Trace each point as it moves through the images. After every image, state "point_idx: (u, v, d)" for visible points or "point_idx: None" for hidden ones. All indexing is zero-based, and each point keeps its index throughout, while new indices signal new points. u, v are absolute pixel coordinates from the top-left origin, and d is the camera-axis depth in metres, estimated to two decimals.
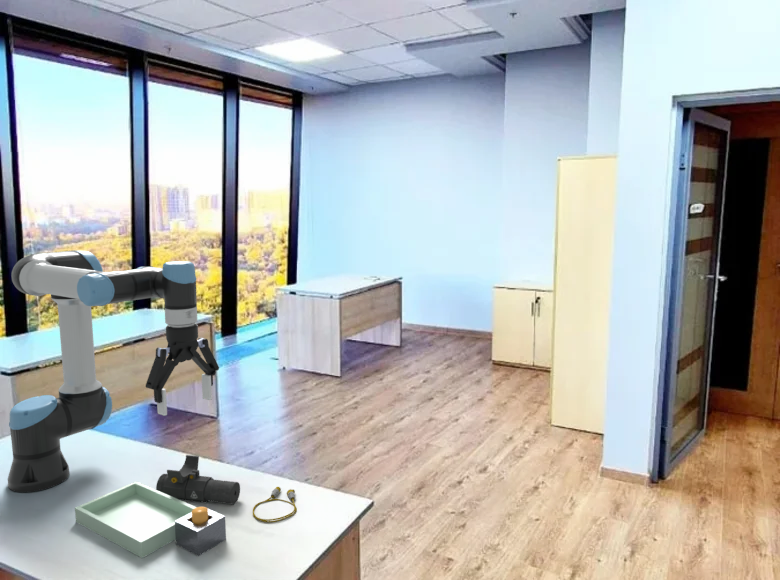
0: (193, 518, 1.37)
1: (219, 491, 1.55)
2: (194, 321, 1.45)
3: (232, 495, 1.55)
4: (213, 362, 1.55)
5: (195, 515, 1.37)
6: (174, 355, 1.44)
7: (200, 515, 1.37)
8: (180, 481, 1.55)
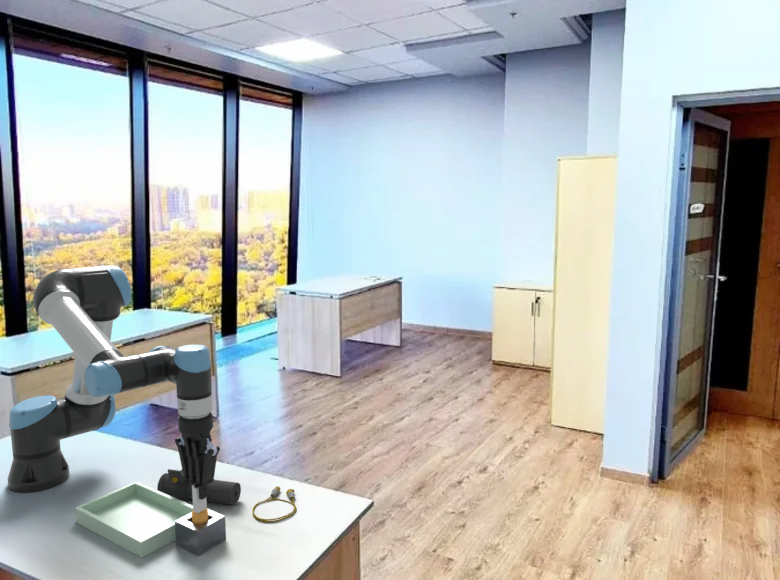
0: (193, 518, 1.37)
1: (219, 491, 1.55)
2: (185, 415, 1.31)
3: (232, 496, 1.55)
4: (203, 475, 1.34)
5: (195, 515, 1.37)
6: None
7: (200, 515, 1.37)
8: (181, 481, 1.55)
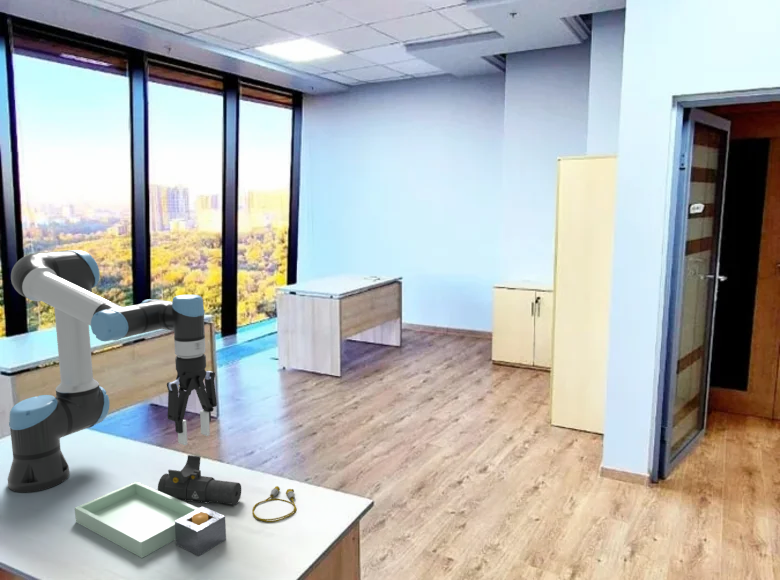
0: None
1: (220, 491, 1.55)
2: (202, 352, 1.52)
3: (233, 496, 1.55)
4: (213, 397, 1.60)
5: (196, 521, 1.37)
6: (183, 384, 1.51)
7: (200, 521, 1.37)
8: (181, 481, 1.55)
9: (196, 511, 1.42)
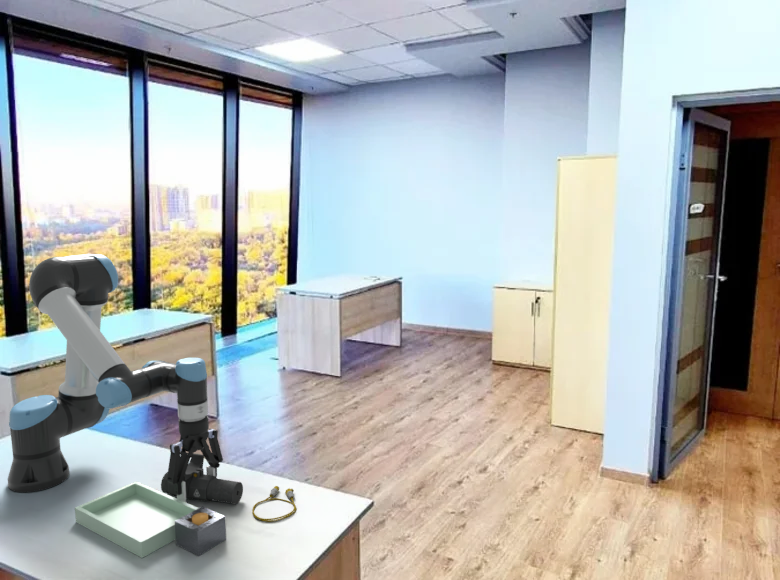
0: None
1: (221, 490, 1.55)
2: (205, 415, 1.55)
3: (234, 495, 1.55)
4: (218, 453, 1.63)
5: (196, 521, 1.37)
6: (186, 447, 1.54)
7: (200, 521, 1.37)
8: (183, 479, 1.56)
9: (196, 511, 1.42)
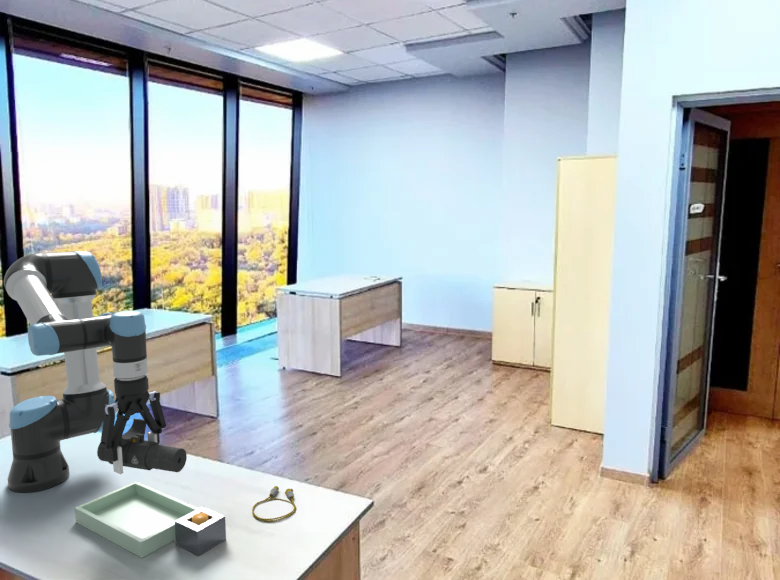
0: None
1: (160, 456, 1.41)
2: (143, 373, 1.41)
3: (174, 462, 1.41)
4: (161, 418, 1.49)
5: (196, 521, 1.37)
6: (122, 409, 1.40)
7: (200, 521, 1.37)
8: (120, 443, 1.42)
9: (196, 511, 1.42)
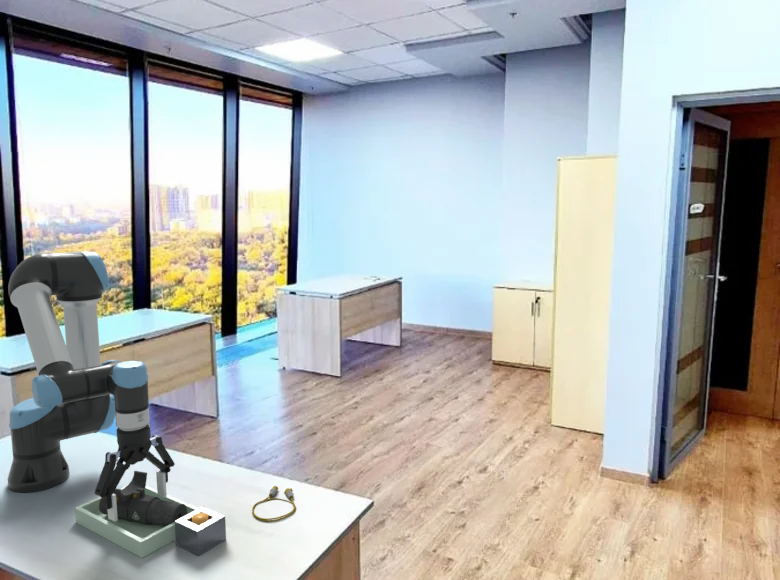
0: None
1: (161, 513, 1.42)
2: (145, 423, 1.43)
3: (175, 518, 1.42)
4: (168, 459, 1.52)
5: (196, 521, 1.37)
6: (125, 459, 1.42)
7: (200, 521, 1.37)
8: (121, 500, 1.43)
9: (196, 511, 1.42)
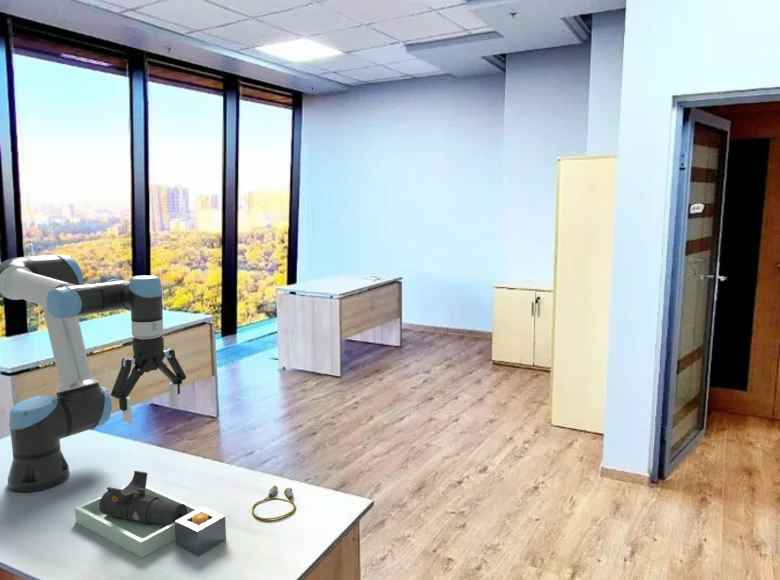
0: None
1: (161, 513, 1.42)
2: (159, 333, 1.52)
3: (175, 518, 1.42)
4: (180, 372, 1.61)
5: (196, 521, 1.37)
6: (139, 365, 1.51)
7: (200, 521, 1.37)
8: (121, 500, 1.43)
9: (196, 511, 1.42)
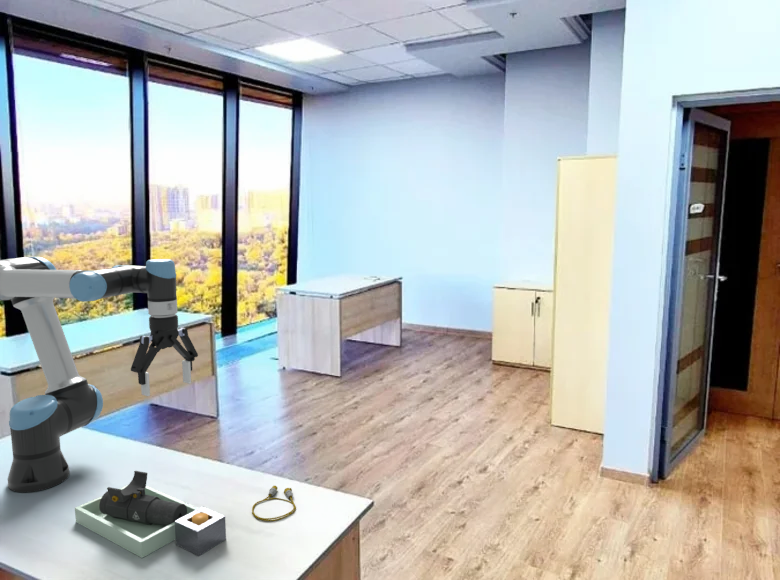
0: None
1: (161, 513, 1.42)
2: (174, 312, 1.63)
3: (175, 518, 1.42)
4: (192, 349, 1.72)
5: (196, 521, 1.37)
6: (156, 342, 1.62)
7: (200, 521, 1.37)
8: (121, 500, 1.43)
9: (196, 511, 1.42)
